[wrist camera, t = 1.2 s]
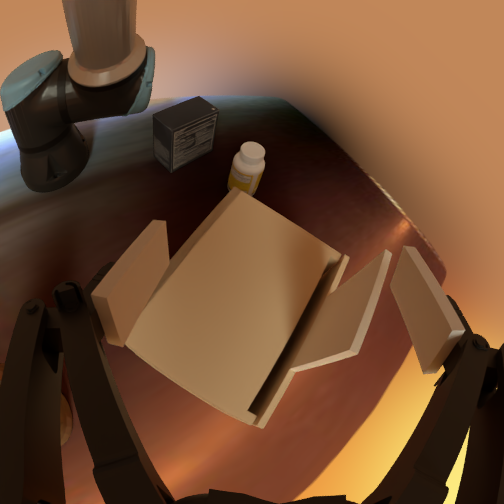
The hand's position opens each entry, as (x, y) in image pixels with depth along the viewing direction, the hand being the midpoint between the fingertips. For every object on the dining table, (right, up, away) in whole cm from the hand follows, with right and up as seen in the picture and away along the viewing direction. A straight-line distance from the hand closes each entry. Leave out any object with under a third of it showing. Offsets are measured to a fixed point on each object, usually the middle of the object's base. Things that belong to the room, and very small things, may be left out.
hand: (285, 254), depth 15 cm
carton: (-6, -11, +25) cm, 28 cm away
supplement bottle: (-4, +12, +38) cm, 40 cm away
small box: (-15, +20, +39) cm, 46 cm away
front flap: (0, -15, +24) cm, 28 cm away
